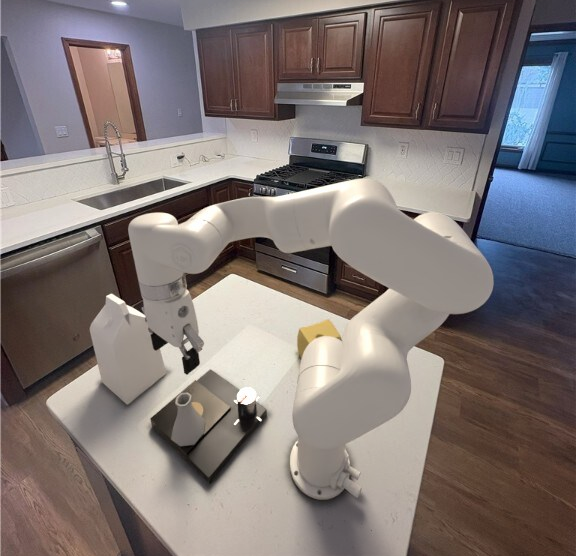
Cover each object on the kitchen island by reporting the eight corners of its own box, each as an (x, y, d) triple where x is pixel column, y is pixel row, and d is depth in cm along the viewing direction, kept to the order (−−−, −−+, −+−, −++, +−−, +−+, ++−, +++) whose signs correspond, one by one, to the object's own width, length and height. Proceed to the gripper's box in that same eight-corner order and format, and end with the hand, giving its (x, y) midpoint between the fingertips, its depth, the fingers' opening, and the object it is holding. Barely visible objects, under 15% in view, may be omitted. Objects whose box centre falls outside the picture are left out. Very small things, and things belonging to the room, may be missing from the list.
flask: (196, 450, 65) (190, 418, 62) (165, 443, 67) (157, 411, 63) (210, 418, 72) (206, 387, 68) (182, 412, 73) (176, 381, 69)
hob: (272, 412, 76) (272, 406, 75) (212, 486, 62) (211, 480, 61) (214, 371, 87) (213, 365, 87) (151, 425, 73) (150, 419, 72)
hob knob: (246, 398, 77) (245, 383, 75) (260, 408, 75) (259, 392, 73) (234, 412, 74) (232, 396, 72) (248, 422, 72) (247, 406, 70)
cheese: (345, 368, 89) (347, 341, 85) (310, 380, 85) (312, 352, 81) (327, 343, 97) (329, 317, 94) (295, 353, 94) (296, 326, 90)
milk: (166, 373, 87) (151, 295, 76) (127, 404, 78) (104, 321, 68) (140, 354, 93) (124, 280, 83) (101, 381, 84) (77, 302, 74)
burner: (230, 408, 75) (230, 407, 75) (186, 455, 65) (185, 453, 65) (195, 381, 82) (195, 379, 82) (150, 420, 72) (150, 418, 72)
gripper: (213, 290, 53) (221, 365, 59) (154, 260, 62) (166, 328, 68) (175, 313, 47) (188, 394, 54) (116, 276, 56) (133, 349, 63)
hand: (176, 357), depth 61 cm, fingers open, 9 cm apart
